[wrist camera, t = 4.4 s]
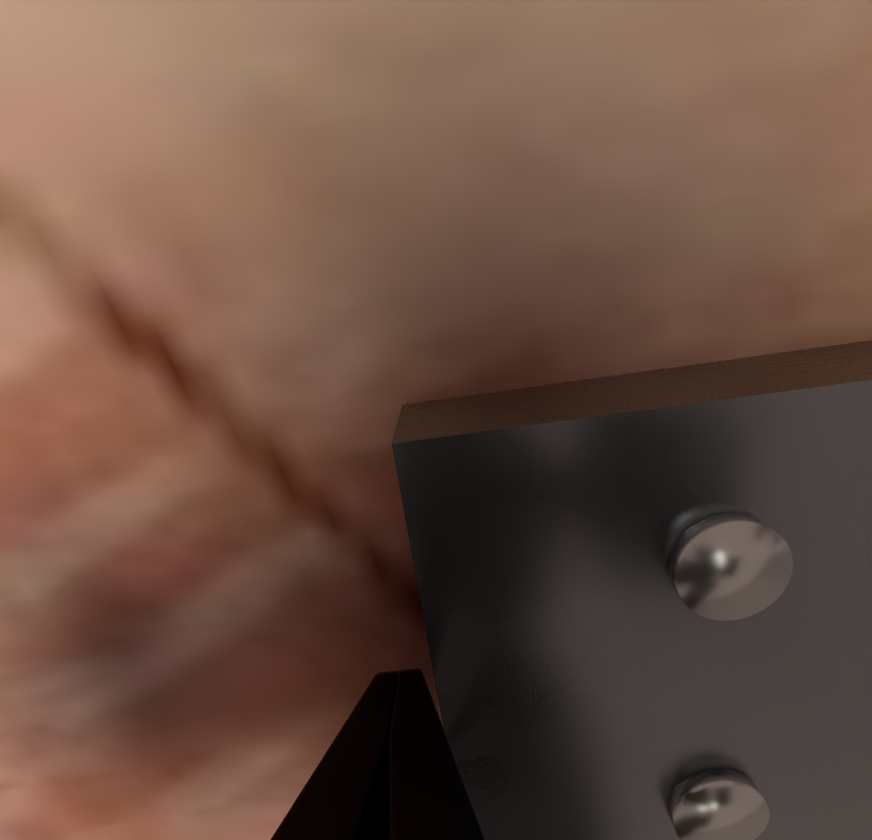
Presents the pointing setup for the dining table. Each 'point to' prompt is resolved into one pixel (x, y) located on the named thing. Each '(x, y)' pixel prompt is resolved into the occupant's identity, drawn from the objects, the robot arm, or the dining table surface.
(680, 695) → the two-screw grey plate
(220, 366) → the dining table surface
